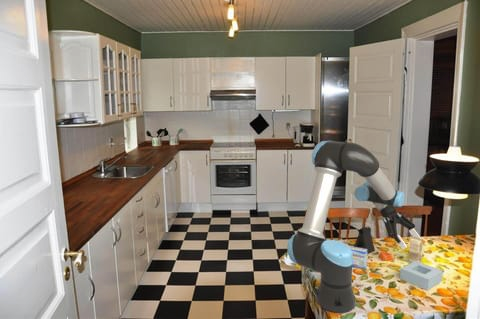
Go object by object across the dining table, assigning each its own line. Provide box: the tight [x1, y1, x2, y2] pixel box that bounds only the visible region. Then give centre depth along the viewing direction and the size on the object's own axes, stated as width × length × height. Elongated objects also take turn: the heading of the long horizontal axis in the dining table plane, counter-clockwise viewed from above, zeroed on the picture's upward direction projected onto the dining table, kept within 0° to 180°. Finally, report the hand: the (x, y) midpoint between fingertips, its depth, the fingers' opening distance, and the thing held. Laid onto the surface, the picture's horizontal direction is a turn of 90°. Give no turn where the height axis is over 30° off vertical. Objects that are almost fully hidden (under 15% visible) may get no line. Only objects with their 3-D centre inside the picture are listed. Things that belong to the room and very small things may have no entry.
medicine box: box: [349, 245, 368, 270], centre depth 167 cm, size 8×4×9 cm, turn 62°
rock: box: [378, 250, 395, 262], centre depth 174 cm, size 12×12×4 cm
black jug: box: [353, 226, 376, 255], centre depth 184 cm, size 9×6×12 cm, turn 33°
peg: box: [408, 236, 424, 264], centre depth 168 cm, size 4×4×12 cm
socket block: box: [399, 261, 444, 291], centre depth 153 cm, size 12×12×5 cm
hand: (412, 244), depth 170 cm, fingers open, 13 cm apart
